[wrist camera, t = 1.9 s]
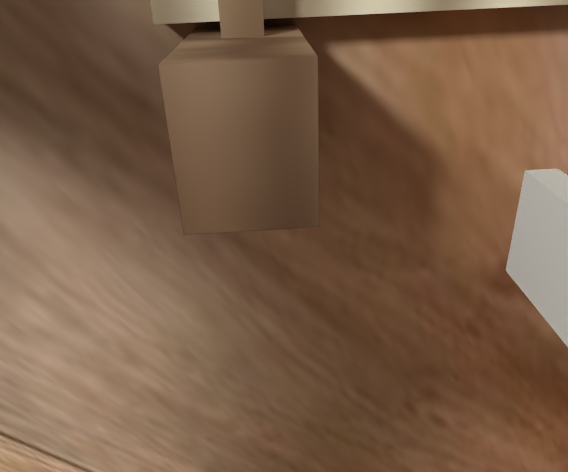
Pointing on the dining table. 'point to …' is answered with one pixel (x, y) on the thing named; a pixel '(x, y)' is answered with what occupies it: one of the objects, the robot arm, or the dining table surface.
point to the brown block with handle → (243, 124)
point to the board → (324, 8)
